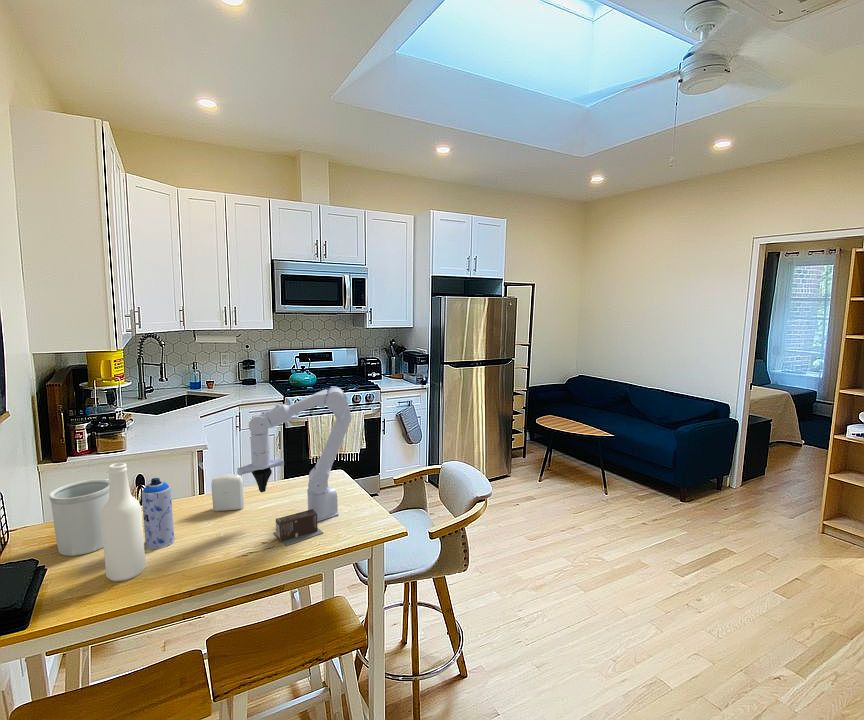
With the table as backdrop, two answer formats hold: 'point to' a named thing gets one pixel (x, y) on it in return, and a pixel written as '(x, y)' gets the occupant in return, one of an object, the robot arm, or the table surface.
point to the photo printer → (227, 492)
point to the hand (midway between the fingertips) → (262, 491)
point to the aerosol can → (157, 515)
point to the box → (296, 525)
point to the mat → (301, 537)
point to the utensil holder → (79, 516)
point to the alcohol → (122, 528)
